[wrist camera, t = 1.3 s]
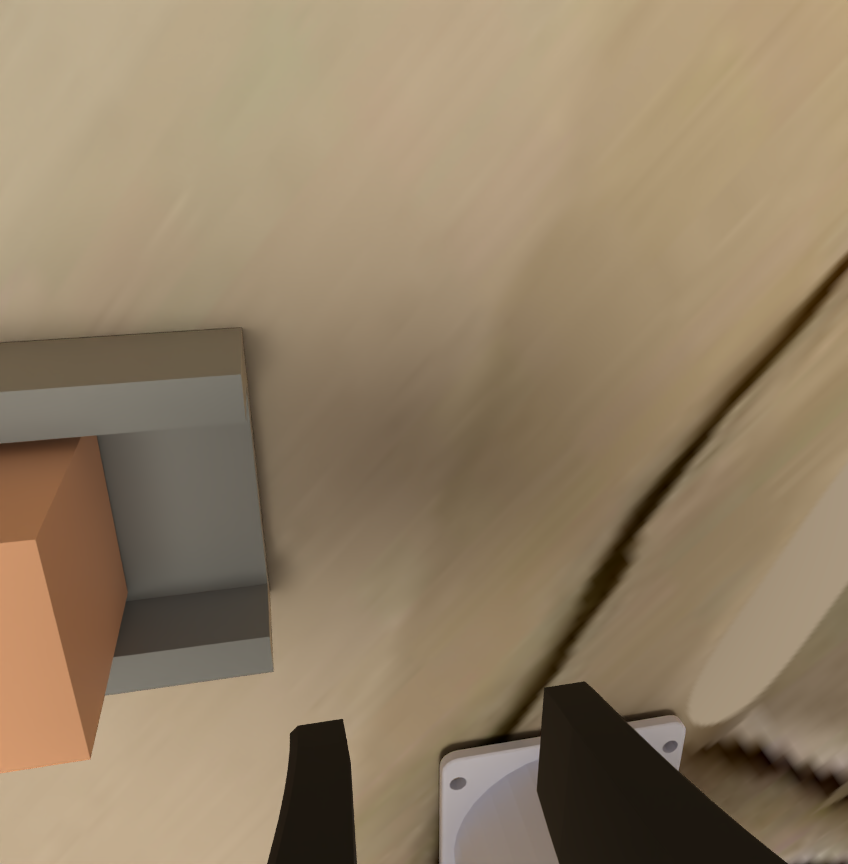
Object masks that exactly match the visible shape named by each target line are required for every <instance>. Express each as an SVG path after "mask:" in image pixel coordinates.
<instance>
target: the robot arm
mask: <svg viewBox="0 0 848 864" xmlns="http://www.w3.org/2000/svg"><path fill="white" fill-rule="evenodd" d="M685 733H686V727H685V726H684V724H683V723H682V721H681V720H680V718H679V717H677V716H675V715H667V716H661V717H655V718H649V719H643V720H637V721H631V722H626V721H625V720H624V719H623V718H622V717H621V716H620V715H619V714H618V713H617V712H616V711H615V710H614V709H613V708H612V707H611V706H610V705H609V704H608V703H607V702H606V701H605V700H604V699H603V698H602V697H601V696H600V695H599V694H598V693H597V692H596V691H595V690H594V689H593V688H592V687H591V686H589V685H588V684H587V683H586V682H578V683H572V684H565V685H559V686H552V687H546V688H544V699H543V712H542V726H541V736H540V737H534V738H528V739H522V740H516V741H510V742H504V743H498V744H492V745H486V746H480V747H474V748H468V749H462V750H456V751H453V752H450V753H448V754H447V755H445V756H444V757H443V759H442V760H441V762H440V801H439V864H788V863H786V862H785V861H784V860H783V859H781V858H780V857H779V856H777V855H776V854H775V853H774V852H772V851H771V850H770V849H769V848H767V847H766V846H765V845H764V844H762V843H761V842H760V841H759V840H758V839H756V838H755V837H754V836H753V835H751V834H750V833H749V832H748V831H747V830H745V829H744V828H743V827H742V826H741V825H739V824H738V823H737V822H736V821H735V820H733V819H732V818H731V817H730V816H729V815H728V814H726V813H725V812H724V811H723V810H722V809H721V808H719V807H718V806H717V805H716V804H715V803H714V802H712V801H711V800H710V799H709V798H708V797H707V796H706V795H705V794H704V793H702V792H701V791H700V790H699V789H698V788H697V787H696V786H695V785H693V784H692V783H691V782H690V781H689V780H688V779H687V778H686V777H685V776H683V775H682V774H681V773H680V772H679V767H680V761H681V756H682V750H683V744H684V739H685ZM458 777H460V778H458ZM455 778H458V779H455ZM453 779H455V780H453ZM267 864H357V858H356V842H355V825H354V809H353V792H352V776H351V762H350V756H349V750H348V745H347V739H346V734H345V728H344V723H343V719H339V720H332V721H326V722H319V723H313V724H306V725H300V726H297V727H296V728H295V729H294V730H293V731H292V732H291V733H290V753H289V763H288V771H287V778H286V784H285V790H284V795H283V800H282V805H281V810H280V815H279V820H278V824H277V828H276V832H275V836H274V840H273V843H272V847H271V851H270V855H269V859H268V863H267Z"/></svg>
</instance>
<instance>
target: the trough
mask: <svg viewBox="0 0 848 864" xmlns="http://www.w3.org/2000/svg"><path fill="white" fill-rule="evenodd" d="M95 435H97V440H98V445H99V450H100V455H101V460H102V465H103V470H104V475H105V480H106V486H107V491H108V496H109V501H110V506H111V511H112V516H113V521H114V526H115V531H116V536H117V541H118V546H119V551H120V556H121V561H122V566H123V571H124V576H125V581H126V586H127V591H128V594H127V599H126V603H125V607H124V612H123V616H122V621H121V625H120V630H119V634H118V639H117V643H116V647H115V652H114V656H113V661H112V665H111V670H110V674H109V678H108V683H107V687H106V692H105V695H112V694H120V693H127V692H134V691H141V690H148V689H155V688H162V687H169V686H176V685H183V684H190V683H197V682H204V681H211V680H218V679H226V678H233V677H240V676H247V675H254V674H261V673H268V672H274V671H273V648H272V626H271V604H270V589H269V579H268V570H267V560H266V551H265V542H264V532H263V523H262V513H261V504H260V495H259V485H258V476H257V466H256V457H255V447H254V438H253V429H252V419H251V410H250V400H249V391H248V382H247V372H246V363H245V353H244V344H243V335H242V328H228V329H212V330H196V331H181V332H165V333H149V334H134V335H118V336H102V337H87V338H71V339H55V340H39V341H24V342H8V343H0V444H1V443H13V442H24V441H36V440H48V439H60V438H71V437H83V436H95Z"/></svg>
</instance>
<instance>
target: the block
mask: <svg viewBox="0 0 848 864" xmlns="http://www.w3.org/2000/svg"><path fill="white" fill-rule="evenodd" d="M127 594H128V591H127V586H126V581H125V576H124V571H123V566H122V561H121V556H120V551H119V546H118V541H117V536H116V531H115V526H114V521H113V516H112V511H111V506H110V501H109V496H108V491H107V486H106V480H105V475H104V470H103V465H102V460H101V455H100V450H99V445H98V440H97V435H95V436H83V437H71V438H60V439H48V440H36V441H24V442H13V443H1V444H0V773H5V772H11V771H18V770H24V769H31V768H37V767H44V766H50V765H57V764H63V763H69V762H76V761H82V760H89V759H90V758H91V754H92V750H93V745H94V741H95V736H96V732H97V727H98V723H99V718H100V714H101V710H102V705H103V701H104V696H105V692H106V687H107V683H108V678H109V674H110V670H111V665H112V661H113V656H114V652H115V647H116V643H117V639H118V634H119V630H120V625H121V621H122V616H123V612H124V607H125V603H126V599H127Z"/></svg>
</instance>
